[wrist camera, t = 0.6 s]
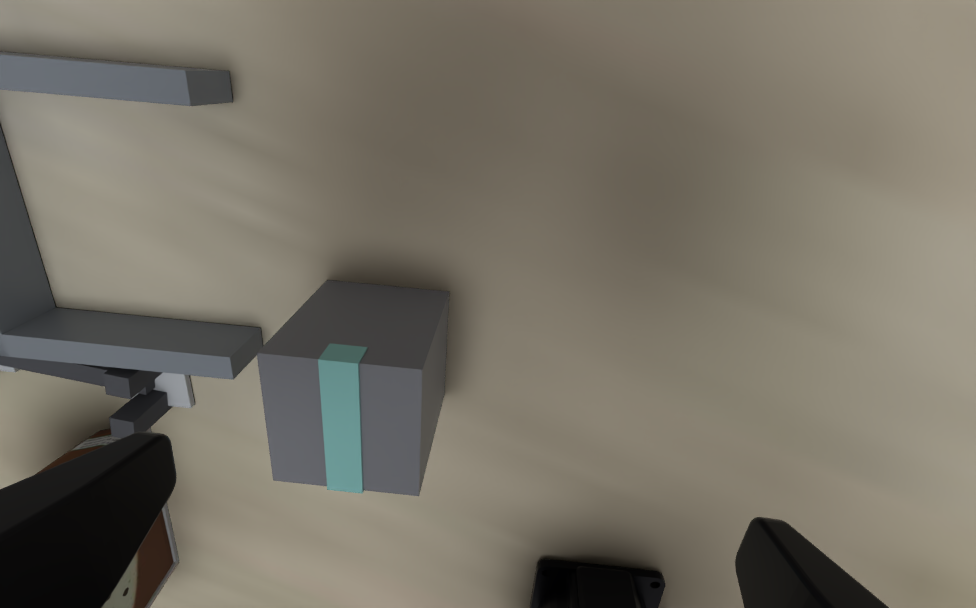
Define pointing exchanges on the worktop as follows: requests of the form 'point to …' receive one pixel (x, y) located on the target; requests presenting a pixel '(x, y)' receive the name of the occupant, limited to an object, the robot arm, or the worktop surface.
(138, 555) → the food container
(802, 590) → the robot arm
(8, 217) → the holder
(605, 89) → the worktop surface
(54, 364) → the clip
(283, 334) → the block
